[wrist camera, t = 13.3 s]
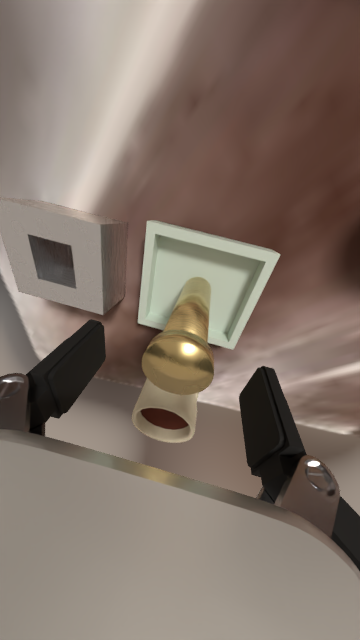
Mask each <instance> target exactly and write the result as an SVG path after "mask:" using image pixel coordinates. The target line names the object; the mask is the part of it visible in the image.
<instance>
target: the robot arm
mask: <svg viewBox="0 0 360 640" xmlns="http://www.w3.org/2000/svg"><path fill="white" fill-rule="evenodd" d="M105 357H106V355H105V336H104V326H103V325H102V323H101V322H99V321H95V320H89V321H88V322H87V323H86V324H84V325H83V326H82V327H81V328H80V329H79V330H78V331H76V332H75V333H74V334H73V335H72V336H71V337H70V338H68V339H66V340H65V341H64V342H63V343H62V344H60V345H59V346H58V347H57V348H56V349H55V350H54V351H52V352H51V353H50V354H49V355H48V356H47V357H46V358H44V359H43V360H42V361H41V362H40V363H39V364H38V365H37V366H35V367H34V368H33V369H32V370H31V371H30V372H29V373H27V374H26V375H24V374H22V373H12V374H7V375H4V376H1V377H0V640H360V516H359V515H358V514H357V513H356V512H355V511H354V510H353V509H352V508H351V507H350V506H349V505H348V503H346V501H345V500H344V499H343V498H342V497H340V490H339V486H338V483H337V481H336V479H335V477H334V475H333V474H332V473H331V471H330V470H329V469H328V467H326V465H325V464H323V463H322V462H321V461H320V460H319V459H317V458H315V457H313V456H310V455H307V454H306V452H305V449H304V446H303V444H302V441H301V438H300V436H299V433H298V430H297V428H296V425H295V422H294V420H293V417H292V414H291V412H290V409H289V406H288V404H287V401H286V399H285V397H284V394H283V392H282V389H281V386H280V384H279V381H278V378H277V375H276V373H275V370H274V369H272V368H269V367H265V366H262V367H261V368H258V369H257V370H256V371H255V373H254V374H253V376H252V377H251V379H250V380H249V382H248V383H247V385H246V386H245V388H244V389H243V391H242V392H241V394H240V396H239V402H240V410H241V418H242V425H243V433H244V441H245V449H246V456H247V463H248V466H249V467H251V473H252V475H255V476H258V477H261V480H262V485H263V487H262V488H261V490H260V492H259V494H258V495H257V497H256V498H253V497H250V496H247V495H243V494H240V493H237V492H234V491H231V490H228V489H224V488H221V487H218V486H214V485H211V484H208V483H204V482H200V481H197V480H194V479H190V478H187V477H184V476H181V475H177V474H174V473H170V472H167V471H164V470H160V469H157V468H154V467H150V466H147V465H143V464H140V463H137V462H133V461H129V460H126V459H123V458H119V457H116V456H113V455H109V454H105V453H102V452H99V451H95V450H92V449H88V448H85V447H81V446H78V445H74V444H71V443H67V442H64V441H60V440H56V439H52V438H49V437H45V422H46V421H47V420H48V419H49V418H50V416H51V417H55V418H60V417H61V415H62V414H63V413H66V412H68V410H69V409H70V407H71V406H72V405H73V403H74V402H75V401H76V399H77V398H78V396H79V395H80V394H81V392H82V391H83V390H84V388H85V387H86V386H87V384H88V383H89V382H90V380H91V379H92V377H93V376H94V375H95V373H96V372H97V371H98V369H99V368H100V366H101V365H102V364H103V362H104V360H105Z"/></svg>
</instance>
